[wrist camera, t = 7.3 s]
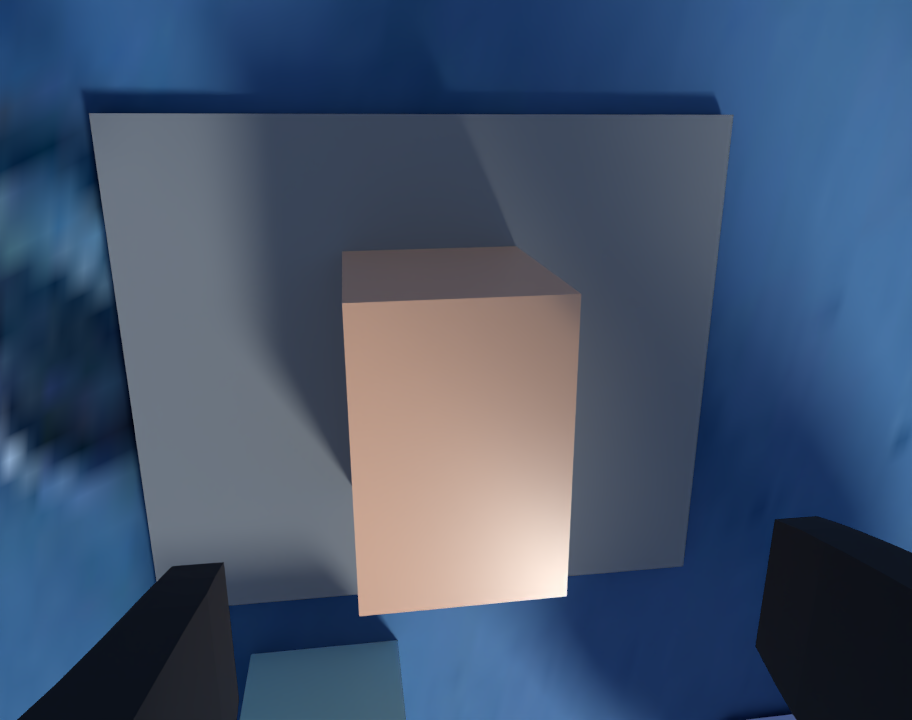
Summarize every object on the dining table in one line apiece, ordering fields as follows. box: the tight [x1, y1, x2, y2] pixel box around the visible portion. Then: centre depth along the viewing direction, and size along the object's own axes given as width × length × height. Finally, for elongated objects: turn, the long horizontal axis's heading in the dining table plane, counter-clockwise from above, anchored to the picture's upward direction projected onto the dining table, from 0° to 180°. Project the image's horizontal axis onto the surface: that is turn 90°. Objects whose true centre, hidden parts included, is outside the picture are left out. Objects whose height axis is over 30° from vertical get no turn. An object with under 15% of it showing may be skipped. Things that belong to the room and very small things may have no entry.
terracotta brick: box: [342, 246, 581, 616], centre depth 15 cm, size 4×6×5 cm, turn 0°
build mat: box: [89, 113, 733, 606], centre depth 18 cm, size 14×12×1 cm
